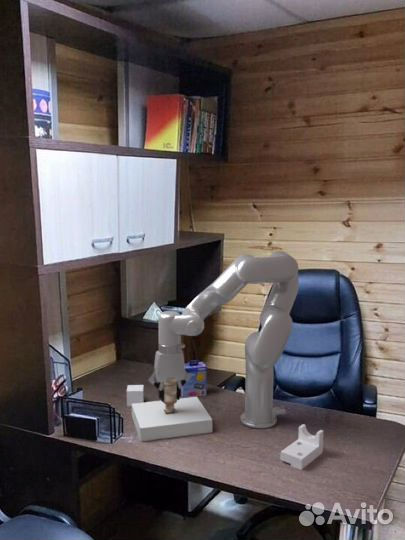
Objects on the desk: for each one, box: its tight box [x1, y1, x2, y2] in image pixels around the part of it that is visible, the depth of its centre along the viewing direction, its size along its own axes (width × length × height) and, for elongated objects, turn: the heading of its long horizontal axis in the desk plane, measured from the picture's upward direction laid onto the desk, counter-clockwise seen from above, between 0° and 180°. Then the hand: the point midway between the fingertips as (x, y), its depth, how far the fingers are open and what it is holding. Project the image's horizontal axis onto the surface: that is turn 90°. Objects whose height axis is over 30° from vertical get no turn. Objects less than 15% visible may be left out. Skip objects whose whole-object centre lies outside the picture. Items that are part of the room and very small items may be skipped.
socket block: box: [131, 396, 213, 442], centre depth 188 cm, size 24×20×4 cm
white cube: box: [126, 384, 145, 407], centre depth 205 cm, size 6×6×6 cm
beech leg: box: [163, 378, 177, 414], centre depth 186 cm, size 5×5×13 cm
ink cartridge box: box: [180, 359, 208, 398], centre depth 212 cm, size 10×6×14 cm, turn 107°
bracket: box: [280, 423, 324, 471], centre depth 165 cm, size 13×7×8 cm, turn 140°
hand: (169, 398), depth 187 cm, fingers closed on beech leg, 4 cm apart
